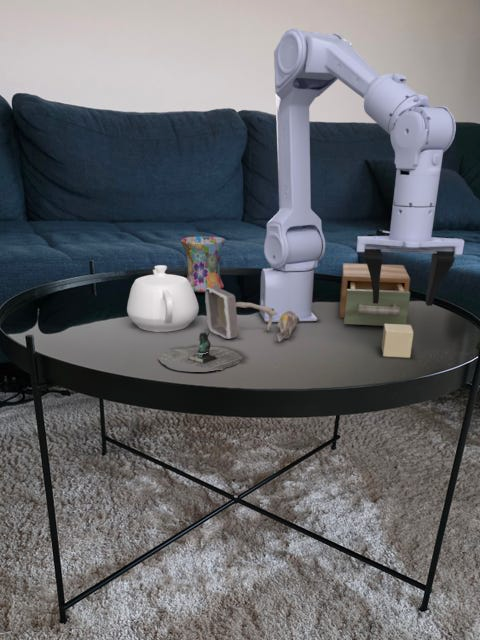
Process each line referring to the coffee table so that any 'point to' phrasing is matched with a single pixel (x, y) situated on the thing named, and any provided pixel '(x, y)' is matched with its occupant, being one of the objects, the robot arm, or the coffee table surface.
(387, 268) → the cabinet
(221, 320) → the decorative sculpture
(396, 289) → the drawer
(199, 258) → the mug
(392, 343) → the block
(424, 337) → the coffee table surface
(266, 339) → the coffee table surface
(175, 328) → the teapot
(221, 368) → the sculpture
